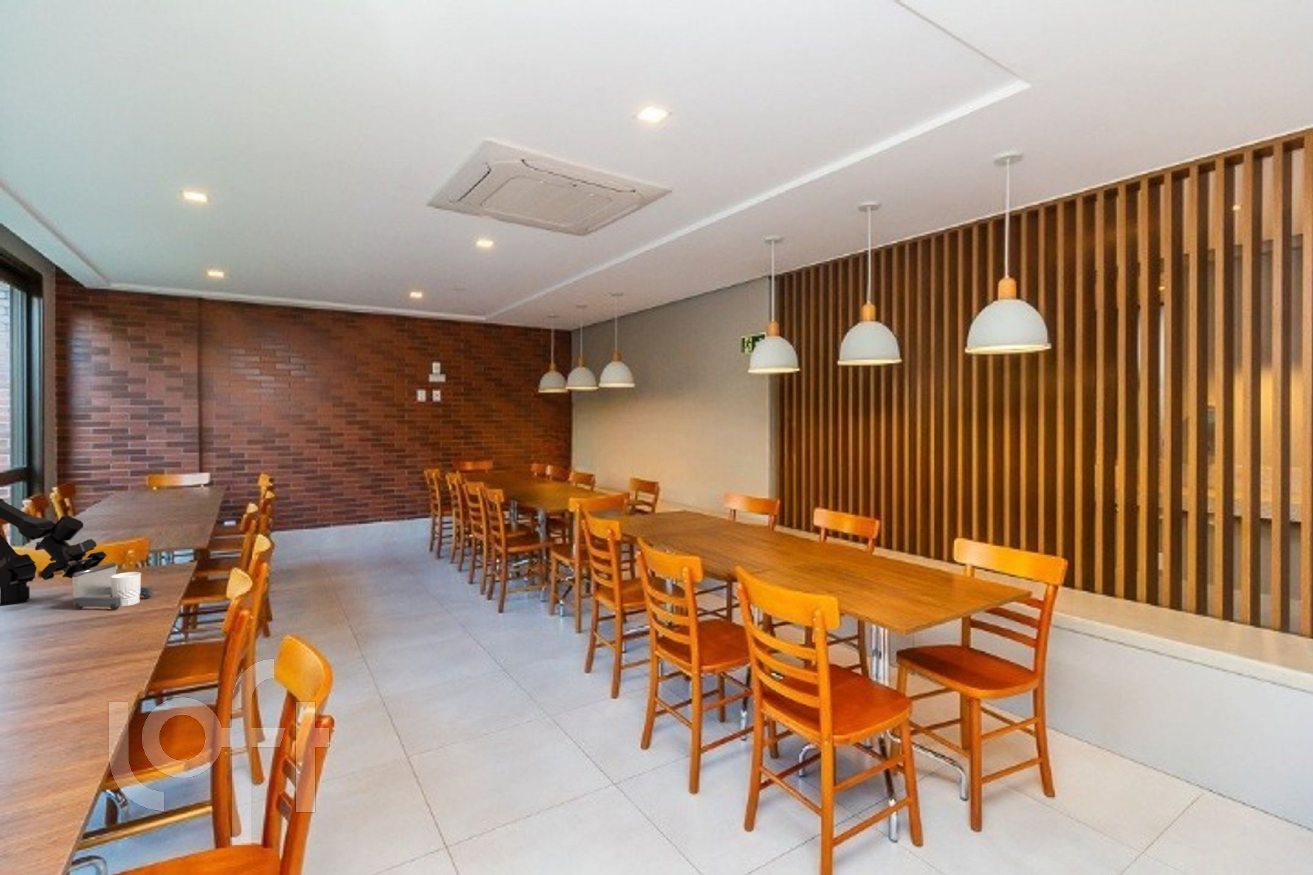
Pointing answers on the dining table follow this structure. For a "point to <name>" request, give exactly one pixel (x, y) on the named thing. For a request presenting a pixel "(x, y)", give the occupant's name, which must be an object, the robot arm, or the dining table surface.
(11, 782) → the dining table surface
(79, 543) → the robot arm
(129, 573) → the white cup
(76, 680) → the dining table surface
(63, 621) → the dining table surface
